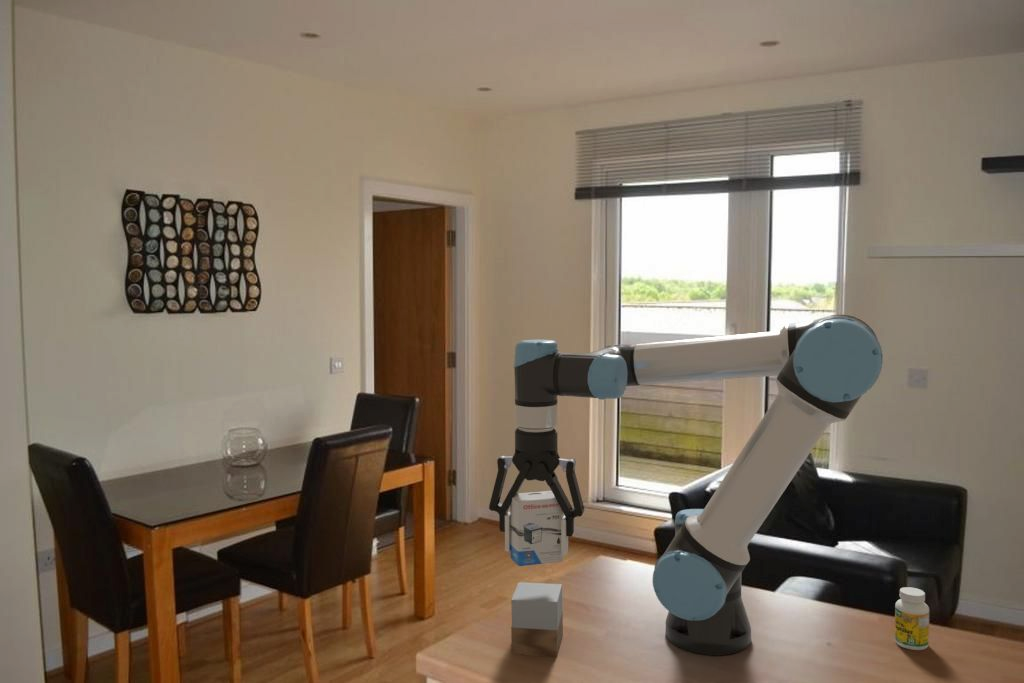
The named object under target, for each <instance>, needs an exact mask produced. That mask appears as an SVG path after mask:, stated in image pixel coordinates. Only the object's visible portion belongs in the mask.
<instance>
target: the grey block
mask: <svg viewBox="0 0 1024 683" xmlns="http://www.w3.org/2000/svg"><path fill="white" fill-rule="evenodd" d="M510 600H511V603H510V605H511V627H512V628H528V629H546V630H558V626H559V622H560V618H561V614H562V611H563V583H543V582H520V581H519V582H518V583H517V585H516V588H515V590H514V593H513V594H512V598H511V599H510Z"/></svg>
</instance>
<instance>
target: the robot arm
mask: <svg viewBox="0 0 1024 683" xmlns="http://www.w3.org/2000/svg"><path fill="white" fill-rule="evenodd" d="M883 358H884V356H883V351H882V346H881V344H880V342H879V339H878V337H877V335H876V333H875V331H874V330H873V329H872V327H870V325H868V324H867V322H865V321H863V320H862V319H861V318H857V317H856V316H853V315H848V314H832V315H828V316H825V317H821V318H817V319H813V320H808V321H801V322H795V323H786V324H785V325H784V326H783V327H782V329H781V330H774V331H773V330H772V331H764V332H756V333H755V332H754V333H751V332H750V333H742V334H741V333H740V334H732V335H722V336H721V335H720V336H712V337H711V336H710V337H701V338H689V339H678V340H669V341H657V342H647V343H637V344H626V345H622V344H612V345H607V346H605V347H603V348H601V349H598V350H594V351H591V352H589V353H588V352H586V353H583V352H578V353H577V352H575V353H574V352H562V351H559V348H558V343H557V342H556V341H555V340H554V339H553V340H552V339H538V338H537V339H525V340H524V339H523V340H520V341H518V342H517V343H516V345H515V347H514V364H513V369H514V370H513V371H514V373H513V374H514V426H515V427H516V428H515V430H514V454H513V455H512V456H510V455H509V456H507V455H505V454H502V455H500V457H499V458H498V459H497V460H496V461H497V462H496V464H497V474H496V478H495V482H494V485H493V490H492V494H491V498H490V501H489V505H488V509H489V510H490V511H492V512H496V513H497V514H498V516H499V520H498V521H499V522H498V523H499V524H498V525H499V531H500V532H502V533H504V552H508V553H509V552H511V550H510V535H511V534H510V504H511V502H512V497H513V498H514V496H515V495H516V494H517V493H518V492H519V490H520V489H521V487H522V485H523V483H524V482H525V480H526V481H535V480H536V481H538V482H545V483H546V484H547V486H548V487H549V488H550V491H552V492H553V494H554V496H555V498H556V500H557V502H558V504H559V505H560V507H561V509H562V511H563V518H562V520H561V556H563V557H566V556H567V554H568V552H569V537H573V534H574V532H575V518H577V517H580V518H581V517H582V516H583V514H584V513H585V512H584V511H585V505H584V501H583V498H582V494H581V491H580V486H579V482H578V478H577V474H576V472H575V471H576V459H575V458H569V459H566V458H561V456H560V455H559V452H558V448H559V447H558V429H557V428H556V427H557V425H558V396H559V397H560V396H561V397H575V398H576V397H577V398H588V399H589V398H590V399H599V400H605V399H608V400H609V399H610V400H611V399H613V400H614V399H615V400H616V399H620V398H621V397H622V396H624V394H625V390H626V389H627V387H636V386H642V385H643V386H644V385H646V386H647V385H658V384H660V385H661V384H673V383H675V384H677V383H690V382H702V381H703V382H704V381H705V382H706V381H720V380H732V379H745V378H746V379H748V378H749V379H750V378H761V377H762V378H764V377H765V378H766V377H775V376H776V378H775V382H776V387H777V393H778V394H777V395H776V397H775V398H774V400H773V402H772V403H771V405H770V406H769V408H768V409H767V410H766V412H765V414H764V415H763V417H762V419H761V420H760V422H759V423H758V425H757V426H756V428H755V430H754V431H753V432H752V434H751V436H750V437H749V439H748V440H747V442H746V443H745V444H744V445H743V447H742V450H741V451H740V453H738V456H737V457H736V458H735V460H734V462H733V464H732V465H731V467H730V468H729V470H728V471H727V473H726V474H725V476H724V477H723V479H722V481H721V482H720V484H719V486H718V487H717V488H716V490H715V491H714V493H713V494H712V496H710V497H711V498H710V499H709V501H708V502H707V504H706V505H705V507H704V508H689V509H688V508H687V509H682V510H679V511H677V513H676V515H675V518H674V523H673V525H674V530H675V532H674V533H675V534H674V537H673V538H672V540H671V542H670V543H669V545H668V547H667V548H666V550H665V552H664V553H663V554H662V555H661V556H660V557H659V558H658V559H657V561H656V563H655V565H654V568H653V569H654V570H653V573H652V586H653V590H654V593H655V596H656V598H657V599H658V602H660V604H661V605H662V606H663V607H664V609H666V610H667V611H668V612H667V616H666V619H665V636H666V638H667V640H669V642H671V644H673V645H675V646H676V647H679V648H680V649H681V650H685V651H688V652H692V653H695V654H701V655H710V656H724V655H731V654H736V653H740V652H742V651H744V650H746V649H747V648H748V647H749V646H750V645H751V643H752V628H751V627H752V626H751V623H750V620H749V617H748V615H747V611H746V607H745V605H744V601H743V599H742V573H743V571H744V570H745V568H746V566H747V565H748V563H749V562H750V560H751V557H750V556H751V555H750V553H749V549H748V546H749V544H750V542H751V541H752V540H753V538H754V537H755V535H756V534H757V533H758V531H759V530H760V528H761V526H762V525H763V523H764V522H765V520H766V519H767V518H768V516H769V514H770V513H771V511H772V510H773V508H774V507H775V505H776V504H777V503H778V501H779V500H780V498H781V496H782V495H783V493H784V492H785V491H786V489H787V487H788V486H789V484H790V483H792V480H793V478H794V477H795V476H796V475H797V473H798V471H799V469H800V468H801V467H802V465H803V464H804V463H805V461H806V460H807V458H808V456H809V455H810V454H811V452H812V451H813V449H814V448H815V446H816V444H817V443H818V441H820V439H821V437H822V436H823V434H824V433H825V432H826V430H827V429H828V427H829V425H831V424H834V423H838V422H844V421H846V420H847V418H848V417H849V415H850V413H851V412H852V411H853V409H854V407H855V406H856V405H857V403H858V402H859V401H860V399H861V397H862V396H863V395H864V394H866V393H868V391H869V390H871V389H872V388H873V386H874V385H875V384H876V382H877V380H878V379H879V376H880V375H881V372H882V368H883ZM512 464H513V465H514V466H515V468H516V470H517V471H518V474H517V476H516V477H515V480H514V482H513V484H512V486H511V487H510V489H509V491H508V492H507V495H506V497H505V499H504V500H503V502H502V503H500V502H501V498H502V497H501V496H502V493H503V490H504V485H505V482H506V477H507V474H508V469H510V467H511V466H512ZM559 466H561V469H562V471H563V472H565V478H566V482H567V486H568V489H569V492H570V496H571V497H570V498H571V500H572V504H573V506H572V504H571V502H570V501H569V499H568V497H567V494H566V493H565V491H564V489H563V486H562V485H561V483H560V482H559V479H558V476H557V474H556V472H555V470H556V469H557V468H558V467H559Z"/></svg>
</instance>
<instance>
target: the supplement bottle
mask: <svg viewBox="0 0 1024 683" xmlns="http://www.w3.org/2000/svg"><path fill="white" fill-rule="evenodd" d="M899 598H900V599H898V600H897V601H896V602H895V604H894V605H895V606H894V608H895V609H894V640H895V643H896V644H897V645H898V646H900V647H901V648H904V649H906V650H911V651H912V650H913V651H922V650H926V649H927V648H928V647H929V644H930V636H929V635H930V634H929V633H930V607H929V606H928V604H926V602H925V601H926V592H924V590H922V589H919V588H916V587H910V586H909V587H905V586H903V587H901V588H900V589H899Z"/></svg>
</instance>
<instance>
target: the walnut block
mask: <svg viewBox="0 0 1024 683" xmlns="http://www.w3.org/2000/svg"><path fill="white" fill-rule="evenodd" d="M563 614H564V613H563V610H562V614H561V618H560V622H559V626H558V630H546V629H528V628H512V626H511V627H510V628H511V629H510V630H511V631H510V633H511V635H510V636H511V654H512V655H521V654H524V655H523V656H535V655H537V657H538V656H539V657H547V658H548V657H551V658H558V655H559V652H560V648H561V644H562V641H563V638H564V621H563V619H564V615H563ZM562 637H563V638H562ZM513 653H514V654H513Z"/></svg>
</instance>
